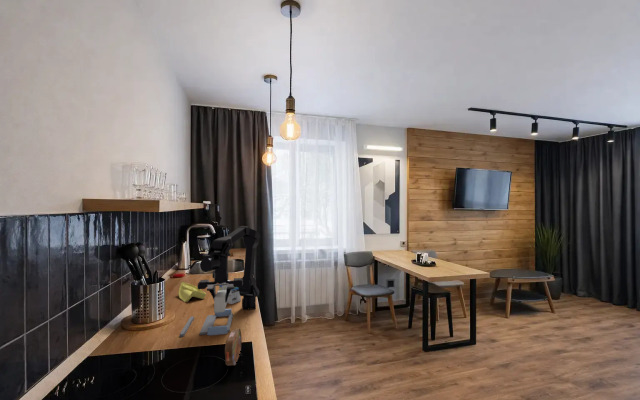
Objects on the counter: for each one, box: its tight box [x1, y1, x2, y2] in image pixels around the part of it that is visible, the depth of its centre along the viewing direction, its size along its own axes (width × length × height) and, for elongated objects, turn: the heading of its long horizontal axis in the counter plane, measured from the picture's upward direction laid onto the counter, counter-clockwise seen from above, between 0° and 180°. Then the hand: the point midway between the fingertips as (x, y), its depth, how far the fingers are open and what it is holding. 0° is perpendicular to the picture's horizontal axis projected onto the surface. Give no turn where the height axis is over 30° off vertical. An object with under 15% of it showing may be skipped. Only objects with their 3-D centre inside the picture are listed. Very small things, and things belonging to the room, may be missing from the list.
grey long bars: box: [179, 313, 234, 338], centre depth 129 cm, size 19×20×1 cm
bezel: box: [207, 308, 233, 336], centre depth 130 cm, size 8×22×3 cm, turn 12°
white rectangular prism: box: [213, 290, 228, 314], centre depth 130 cm, size 4×12×6 cm, turn 12°
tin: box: [224, 328, 242, 366], centre depth 100 cm, size 15×3×8 cm, turn 4°
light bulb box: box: [218, 279, 242, 305], centre depth 163 cm, size 11×7×11 cm, turn 58°
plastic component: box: [178, 281, 207, 303], centre depth 172 cm, size 20×7×10 cm
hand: (220, 302), depth 130 cm, fingers closed on white rectangular prism, 4 cm apart
